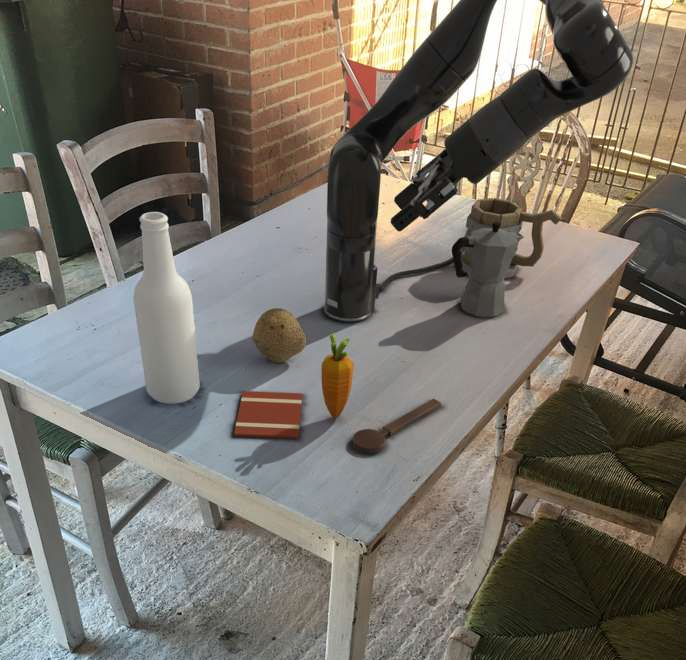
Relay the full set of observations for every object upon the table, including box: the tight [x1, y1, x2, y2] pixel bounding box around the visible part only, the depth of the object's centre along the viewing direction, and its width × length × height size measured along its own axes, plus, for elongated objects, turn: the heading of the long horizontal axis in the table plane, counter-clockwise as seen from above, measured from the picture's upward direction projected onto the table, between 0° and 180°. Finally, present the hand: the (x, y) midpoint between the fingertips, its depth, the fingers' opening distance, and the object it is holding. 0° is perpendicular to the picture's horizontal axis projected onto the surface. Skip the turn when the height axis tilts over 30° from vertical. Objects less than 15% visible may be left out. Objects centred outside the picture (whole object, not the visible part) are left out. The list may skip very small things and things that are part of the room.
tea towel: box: [233, 390, 303, 440], centre depth 123 cm, size 10×12×1 cm
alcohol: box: [132, 211, 201, 405], centre depth 118 cm, size 9×9×30 cm
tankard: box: [461, 197, 562, 279], centre depth 165 cm, size 20×13×15 cm, turn 68°
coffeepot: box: [451, 222, 525, 318], centre depth 150 cm, size 15×9×18 cm, turn 110°
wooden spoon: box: [352, 398, 442, 455], centre depth 122 cm, size 19×5×1 cm, turn 134°
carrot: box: [321, 333, 355, 420], centre depth 119 cm, size 5×5×15 cm
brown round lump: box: [252, 307, 307, 364], centre depth 134 cm, size 9×9×10 cm
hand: (395, 215), depth 112 cm, fingers open, 8 cm apart
